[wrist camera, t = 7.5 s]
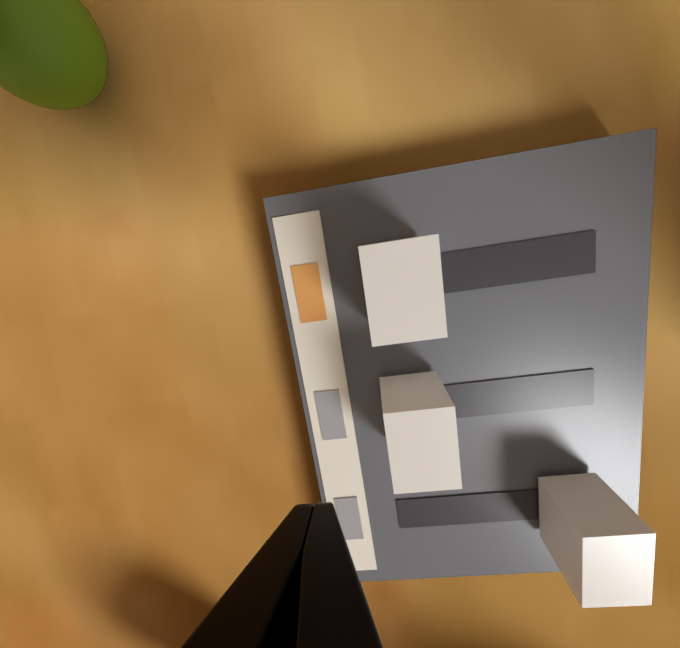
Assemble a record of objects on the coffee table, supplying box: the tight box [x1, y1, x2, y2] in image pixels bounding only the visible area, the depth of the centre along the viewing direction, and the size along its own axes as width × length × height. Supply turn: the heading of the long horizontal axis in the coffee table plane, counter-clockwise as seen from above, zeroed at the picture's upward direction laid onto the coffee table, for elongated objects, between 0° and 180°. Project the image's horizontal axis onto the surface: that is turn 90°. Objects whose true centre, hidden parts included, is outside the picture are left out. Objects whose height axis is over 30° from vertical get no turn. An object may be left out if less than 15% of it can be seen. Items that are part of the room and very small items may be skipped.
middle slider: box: [379, 371, 462, 494], centre depth 17 cm, size 3×4×4 cm
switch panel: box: [263, 128, 656, 582], centre depth 20 cm, size 18×24×3 cm
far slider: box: [538, 473, 656, 608], centre depth 17 cm, size 3×4×4 cm
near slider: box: [358, 234, 448, 347], centre depth 15 cm, size 3×4×4 cm
